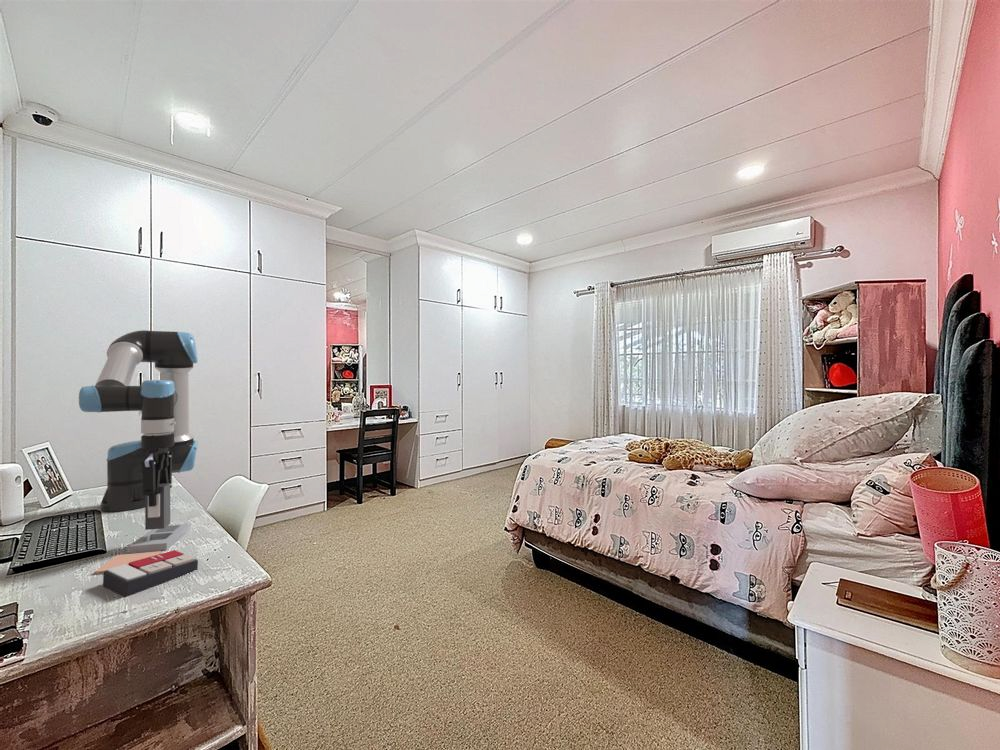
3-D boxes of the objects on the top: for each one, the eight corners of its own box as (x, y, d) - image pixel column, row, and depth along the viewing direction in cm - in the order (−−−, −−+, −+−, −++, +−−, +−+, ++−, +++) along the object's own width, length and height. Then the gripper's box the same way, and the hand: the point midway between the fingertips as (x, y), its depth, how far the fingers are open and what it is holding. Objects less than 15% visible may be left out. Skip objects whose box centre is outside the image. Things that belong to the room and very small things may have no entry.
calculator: (199, 556, 109) (126, 578, 96) (198, 574, 109) (124, 598, 96) (175, 548, 114) (103, 567, 101) (174, 564, 114) (101, 586, 101)
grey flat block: (156, 532, 134) (156, 525, 134) (190, 529, 136) (190, 523, 136) (127, 553, 118) (127, 546, 118) (166, 550, 121) (166, 542, 121)
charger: (152, 524, 127) (152, 484, 127) (170, 523, 128) (170, 483, 128) (145, 529, 123) (145, 487, 123) (163, 528, 124) (163, 486, 124)
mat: (117, 557, 116) (117, 555, 116) (161, 553, 119) (161, 551, 119) (93, 574, 106) (93, 571, 106) (142, 569, 109) (142, 567, 109)
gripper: (159, 437, 118) (159, 523, 118) (185, 429, 134) (185, 504, 135) (126, 438, 116) (126, 525, 116) (156, 429, 132) (156, 506, 133)
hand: (158, 514), depth 126 cm, fingers closed on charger, 4 cm apart
